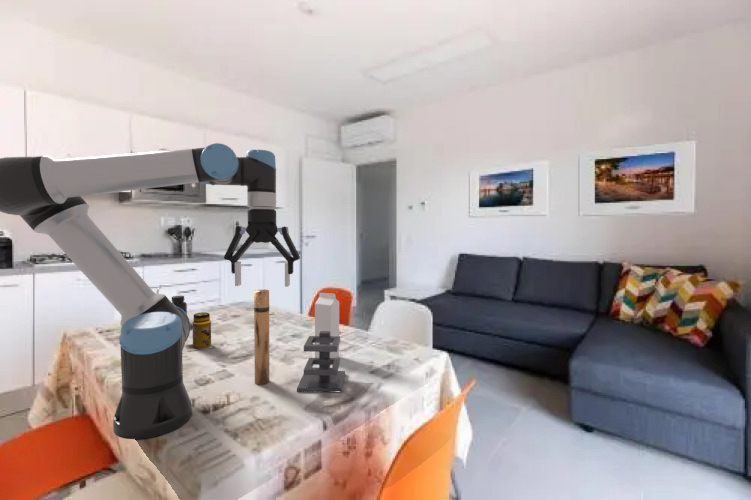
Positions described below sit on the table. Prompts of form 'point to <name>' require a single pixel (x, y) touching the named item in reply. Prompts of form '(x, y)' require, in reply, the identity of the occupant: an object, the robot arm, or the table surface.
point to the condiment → (201, 332)
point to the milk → (327, 317)
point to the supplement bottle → (179, 302)
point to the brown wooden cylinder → (261, 336)
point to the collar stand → (322, 365)
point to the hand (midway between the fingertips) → (262, 285)
